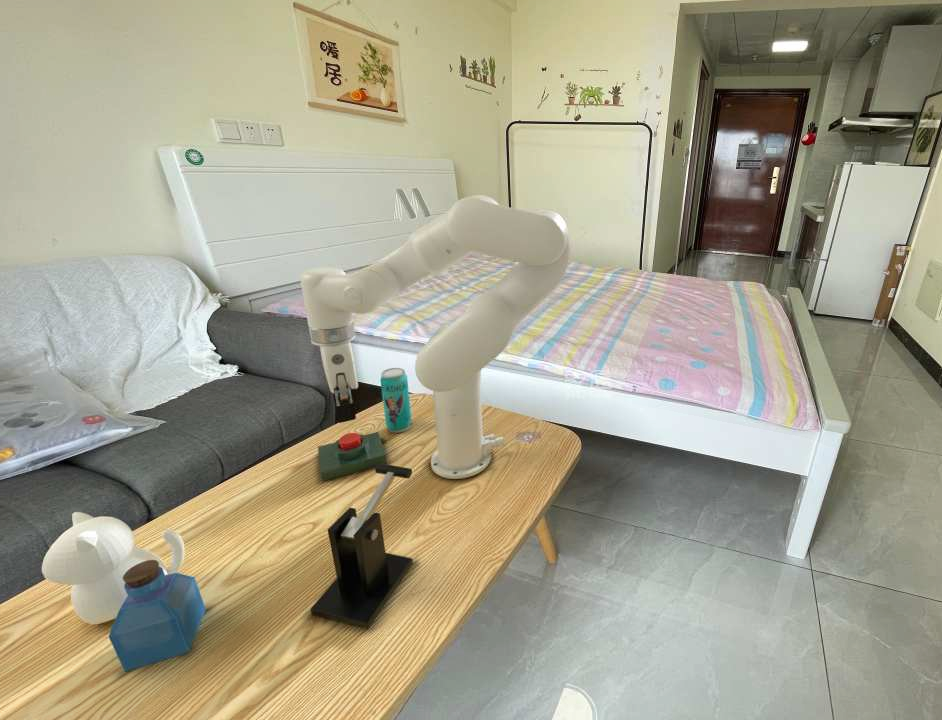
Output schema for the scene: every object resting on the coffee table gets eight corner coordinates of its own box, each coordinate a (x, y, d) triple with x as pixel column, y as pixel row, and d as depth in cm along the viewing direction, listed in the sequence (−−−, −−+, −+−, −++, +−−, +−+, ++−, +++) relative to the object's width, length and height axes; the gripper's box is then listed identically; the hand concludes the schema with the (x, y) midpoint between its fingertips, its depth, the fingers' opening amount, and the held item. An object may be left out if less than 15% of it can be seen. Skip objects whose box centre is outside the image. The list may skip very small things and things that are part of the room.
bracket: (363, 553, 71) (353, 489, 67) (413, 563, 70) (405, 500, 66) (311, 615, 61) (295, 545, 57) (368, 629, 60) (356, 559, 55)
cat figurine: (68, 608, 61) (26, 523, 55) (186, 553, 70) (159, 476, 65) (72, 652, 55) (27, 563, 50) (199, 586, 64) (172, 505, 59)
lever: (383, 468, 71) (378, 459, 70) (413, 473, 70) (409, 465, 69) (336, 541, 62) (329, 533, 61) (370, 548, 61) (364, 540, 60)
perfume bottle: (124, 671, 53) (92, 600, 49) (148, 625, 59) (120, 558, 55) (188, 652, 56) (162, 583, 52) (205, 609, 61) (183, 544, 57)
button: (359, 437, 95) (358, 430, 95) (362, 447, 92) (361, 440, 92) (339, 442, 93) (337, 435, 93) (340, 452, 90) (339, 445, 90)
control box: (379, 439, 101) (377, 424, 100) (386, 463, 93) (384, 447, 92) (319, 455, 95) (316, 439, 93) (322, 481, 87) (319, 465, 86)
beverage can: (384, 435, 103) (377, 378, 98) (389, 422, 108) (382, 367, 103) (410, 433, 104) (404, 376, 99) (413, 420, 109) (408, 366, 104)
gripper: (360, 343, 79) (371, 429, 85) (349, 317, 93) (360, 392, 99) (312, 350, 75) (327, 439, 82) (308, 321, 89) (322, 400, 95)
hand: (345, 412), depth 90 cm, fingers open, 5 cm apart
